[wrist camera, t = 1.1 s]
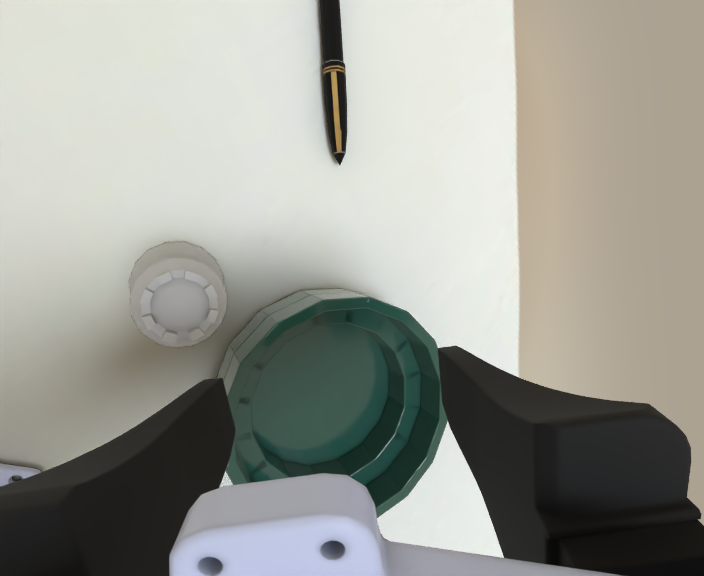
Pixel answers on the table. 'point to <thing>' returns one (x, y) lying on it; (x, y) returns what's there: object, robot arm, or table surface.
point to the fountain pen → (334, 77)
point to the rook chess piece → (177, 294)
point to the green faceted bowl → (334, 394)
